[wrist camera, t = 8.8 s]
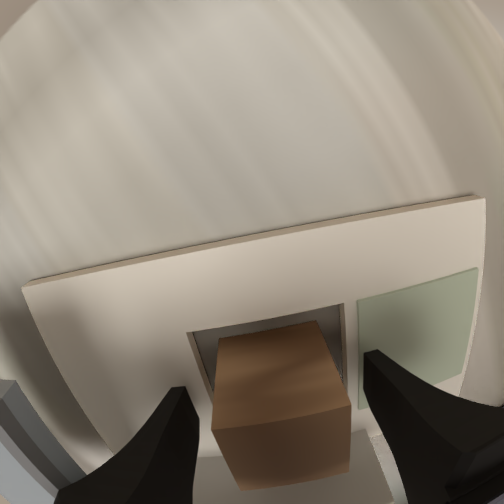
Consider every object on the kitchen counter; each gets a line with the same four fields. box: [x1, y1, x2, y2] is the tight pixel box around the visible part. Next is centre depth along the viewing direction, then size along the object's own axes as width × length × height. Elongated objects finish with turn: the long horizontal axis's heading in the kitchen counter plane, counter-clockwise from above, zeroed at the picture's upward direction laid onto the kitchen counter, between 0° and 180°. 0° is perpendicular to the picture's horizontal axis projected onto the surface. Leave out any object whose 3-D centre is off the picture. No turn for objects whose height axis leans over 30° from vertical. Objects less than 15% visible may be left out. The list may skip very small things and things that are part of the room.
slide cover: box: [0, 379, 87, 504], centre depth 7 cm, size 8×11×1 cm
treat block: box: [211, 320, 352, 491], centre depth 11 cm, size 4×4×5 cm
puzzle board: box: [21, 195, 486, 504], centre depth 10 cm, size 20×12×6 cm, turn 101°
